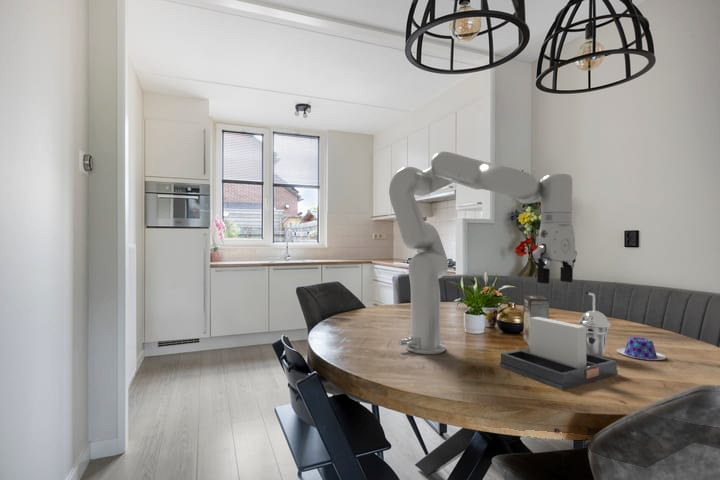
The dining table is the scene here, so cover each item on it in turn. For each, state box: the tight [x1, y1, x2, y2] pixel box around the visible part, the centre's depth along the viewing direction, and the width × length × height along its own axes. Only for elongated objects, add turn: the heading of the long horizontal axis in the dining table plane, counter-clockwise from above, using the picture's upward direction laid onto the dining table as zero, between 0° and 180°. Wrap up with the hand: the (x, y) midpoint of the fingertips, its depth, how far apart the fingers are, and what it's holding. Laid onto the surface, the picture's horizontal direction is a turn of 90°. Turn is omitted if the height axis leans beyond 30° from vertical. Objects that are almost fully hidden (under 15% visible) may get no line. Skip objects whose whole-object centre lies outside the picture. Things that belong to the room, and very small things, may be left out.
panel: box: [529, 317, 586, 368], centre depth 99 cm, size 4×14×12 cm, turn 27°
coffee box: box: [523, 295, 550, 347], centre depth 124 cm, size 9×6×16 cm
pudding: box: [616, 336, 667, 361], centre depth 112 cm, size 12×12×5 cm
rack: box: [499, 347, 619, 391], centre depth 98 cm, size 23×19×4 cm
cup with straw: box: [578, 291, 612, 358], centre depth 111 cm, size 8×9×20 cm
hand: (555, 282), depth 99 cm, fingers open, 9 cm apart
